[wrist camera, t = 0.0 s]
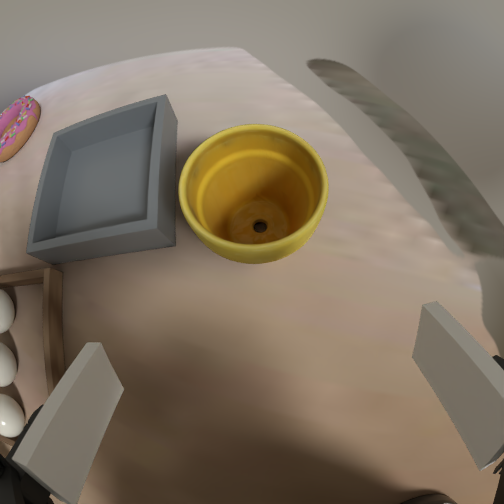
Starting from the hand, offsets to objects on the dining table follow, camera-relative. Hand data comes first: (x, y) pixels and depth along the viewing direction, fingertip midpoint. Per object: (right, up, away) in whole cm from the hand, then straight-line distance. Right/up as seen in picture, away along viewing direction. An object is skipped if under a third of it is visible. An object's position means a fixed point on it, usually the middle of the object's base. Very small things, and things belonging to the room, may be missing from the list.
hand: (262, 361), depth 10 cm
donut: (-46, +27, +28) cm, 61 cm away
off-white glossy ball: (-33, -4, +17) cm, 38 cm away
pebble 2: (-32, -11, +15) cm, 37 cm away
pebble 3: (-32, -18, +13) cm, 39 cm away
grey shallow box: (-17, +12, +21) cm, 30 cm away
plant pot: (0, +6, +18) cm, 19 cm away
